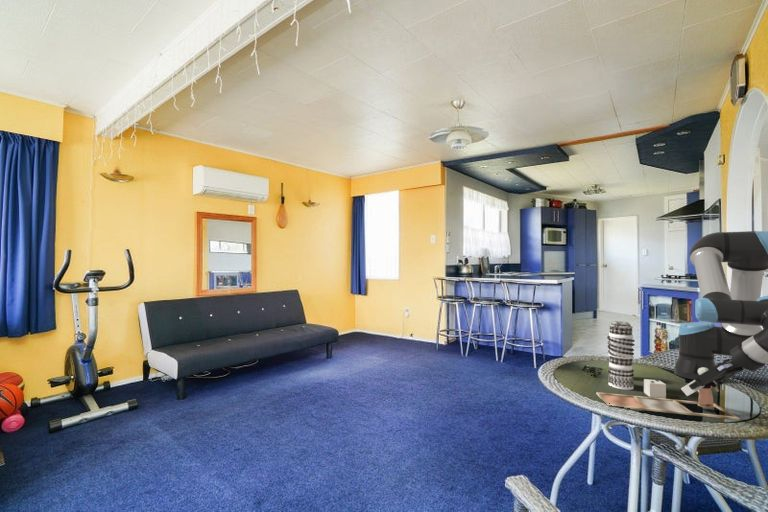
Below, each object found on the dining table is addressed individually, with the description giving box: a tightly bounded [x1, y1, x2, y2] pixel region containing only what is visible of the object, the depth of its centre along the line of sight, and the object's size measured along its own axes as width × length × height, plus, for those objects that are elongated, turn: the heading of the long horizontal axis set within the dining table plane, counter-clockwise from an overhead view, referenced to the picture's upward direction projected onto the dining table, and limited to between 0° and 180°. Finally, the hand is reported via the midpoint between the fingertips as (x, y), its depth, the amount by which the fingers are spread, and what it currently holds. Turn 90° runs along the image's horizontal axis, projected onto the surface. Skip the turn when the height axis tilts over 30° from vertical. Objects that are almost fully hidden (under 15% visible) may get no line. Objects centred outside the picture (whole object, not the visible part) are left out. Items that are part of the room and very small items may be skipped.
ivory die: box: [643, 378, 667, 399], centre depth 134 cm, size 5×5×6 cm
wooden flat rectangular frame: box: [596, 391, 741, 421], centre depth 124 cm, size 36×13×1 cm, turn 75°
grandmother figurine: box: [697, 367, 720, 409], centre depth 121 cm, size 8×4×13 cm, turn 91°
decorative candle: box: [606, 320, 636, 391], centre depth 144 cm, size 9×9×25 cm
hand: (690, 390), depth 124 cm, fingers closed on grandmother figurine, 6 cm apart
